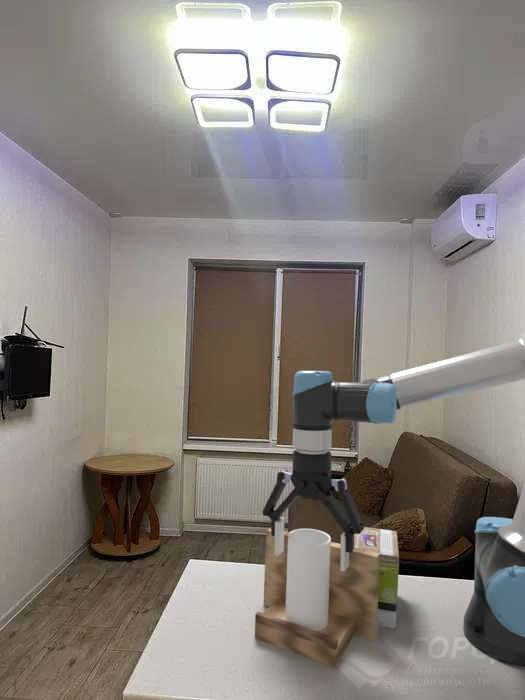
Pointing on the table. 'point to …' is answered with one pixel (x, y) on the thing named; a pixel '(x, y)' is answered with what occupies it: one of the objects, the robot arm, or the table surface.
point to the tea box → (383, 570)
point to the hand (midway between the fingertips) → (310, 560)
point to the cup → (308, 578)
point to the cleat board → (343, 613)
